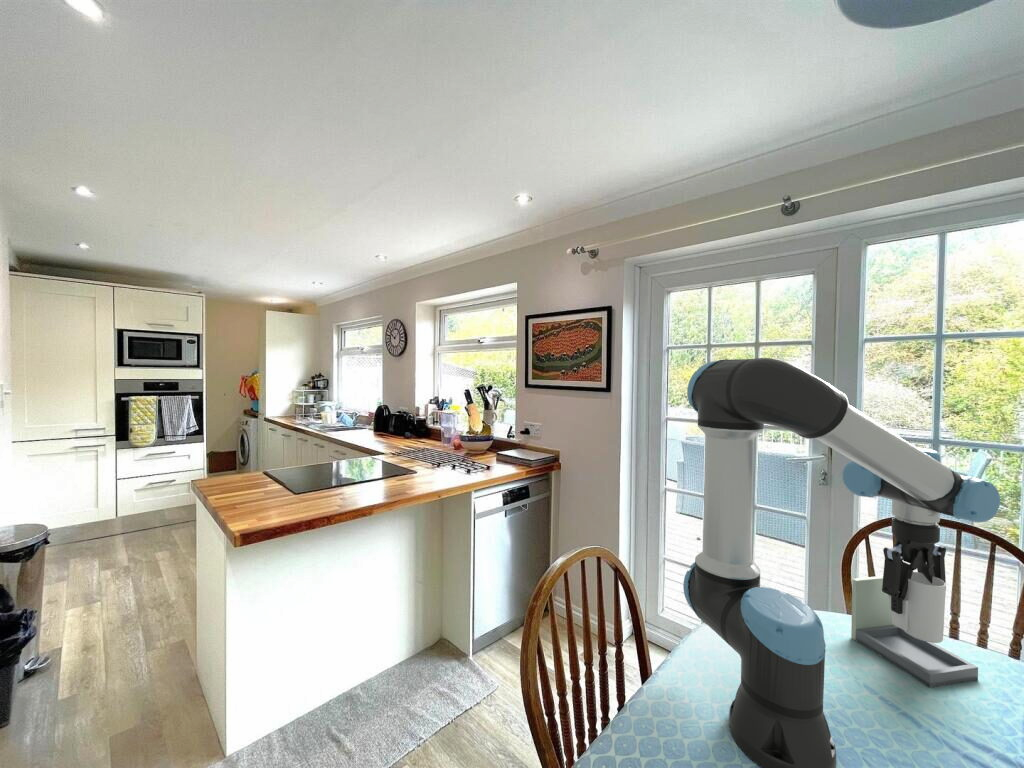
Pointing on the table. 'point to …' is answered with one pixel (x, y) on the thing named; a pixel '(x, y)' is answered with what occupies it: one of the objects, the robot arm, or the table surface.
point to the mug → (926, 608)
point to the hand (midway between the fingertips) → (913, 625)
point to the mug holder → (901, 639)
